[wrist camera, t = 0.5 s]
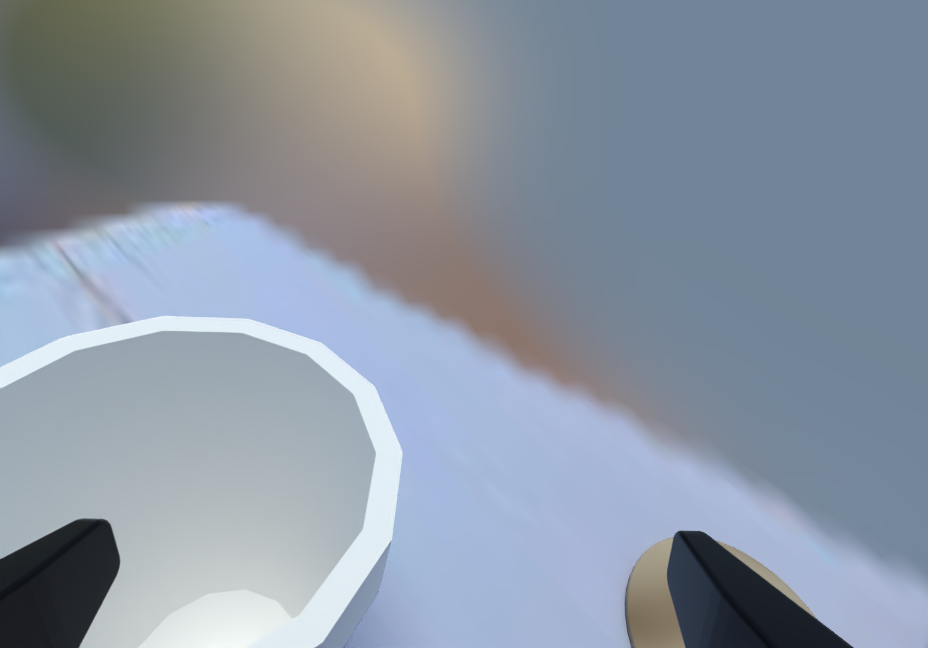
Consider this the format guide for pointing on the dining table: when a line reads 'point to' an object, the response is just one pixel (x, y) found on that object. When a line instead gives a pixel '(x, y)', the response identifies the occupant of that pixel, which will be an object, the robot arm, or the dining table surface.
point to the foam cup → (206, 479)
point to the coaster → (652, 602)
